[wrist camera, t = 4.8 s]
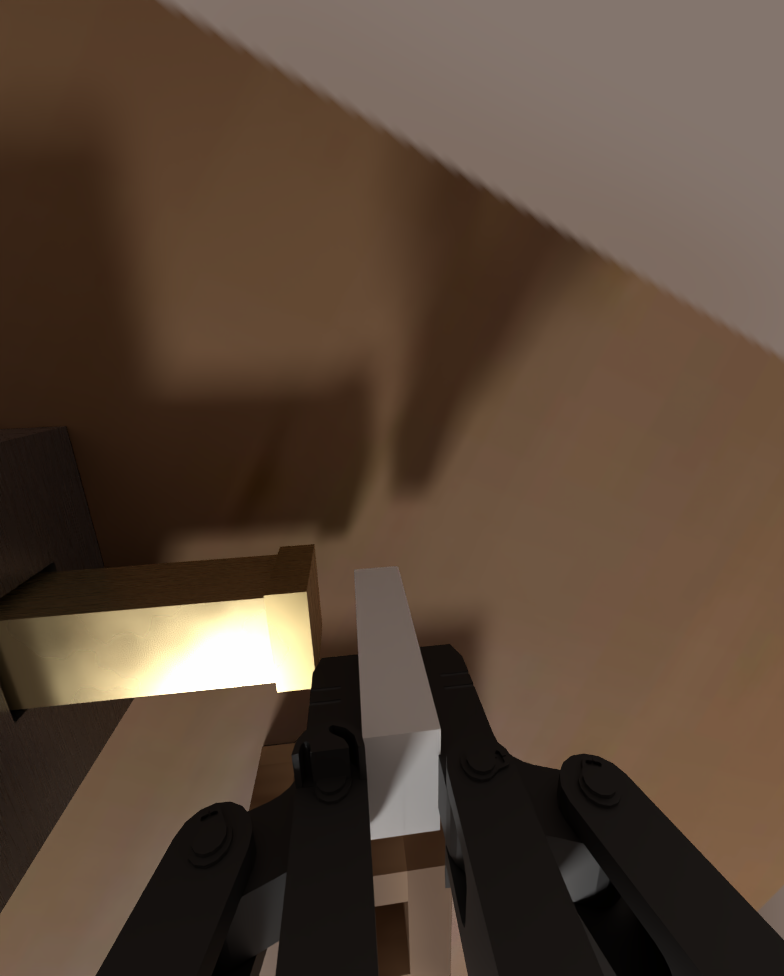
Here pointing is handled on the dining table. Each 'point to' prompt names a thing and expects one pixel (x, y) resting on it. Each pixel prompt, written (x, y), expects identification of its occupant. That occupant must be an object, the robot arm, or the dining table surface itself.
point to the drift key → (161, 629)
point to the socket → (3, 733)
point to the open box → (386, 887)
